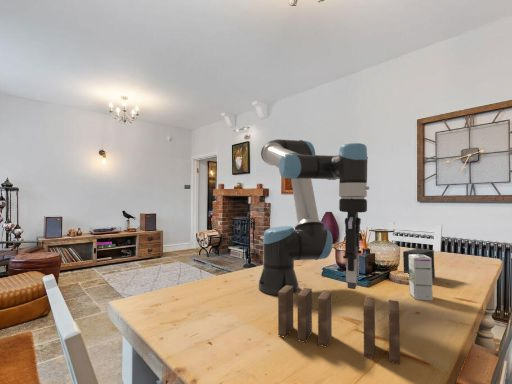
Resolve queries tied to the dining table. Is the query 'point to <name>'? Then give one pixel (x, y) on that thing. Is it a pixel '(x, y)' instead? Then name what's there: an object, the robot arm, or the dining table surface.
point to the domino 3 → (324, 318)
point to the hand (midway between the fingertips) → (352, 278)
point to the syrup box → (420, 277)
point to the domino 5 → (369, 327)
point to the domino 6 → (394, 332)
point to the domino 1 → (285, 310)
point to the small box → (418, 251)
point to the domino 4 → (350, 285)
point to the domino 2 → (304, 314)
